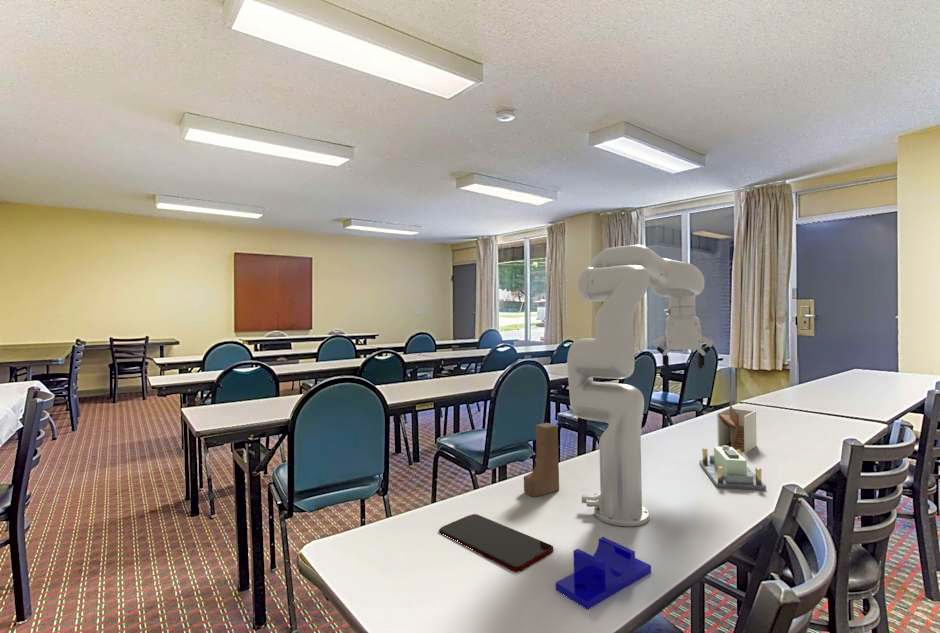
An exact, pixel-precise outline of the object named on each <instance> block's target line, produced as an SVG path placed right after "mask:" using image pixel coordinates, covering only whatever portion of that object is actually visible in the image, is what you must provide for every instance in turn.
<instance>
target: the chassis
mask: <svg viewBox="0 0 940 633" xmlns="http://www.w3.org/2000/svg"><path fill="white" fill-rule="evenodd" d="M701 451H702V459H701V460H698V461H699V465H700V467H701V468H702V470H703V471H704V472H705V473H706V475H707V477H708V478H709V479H710V480H711V482H712V483H713V484H714V485H715V487H716V488H717V489H731V490H732V489H733V490H734V489H737V490H755V491H767V485H766V484H765V483H764V482H763V480H762V468H760V467H755V471H754V472H755V473H754V472H753V471H752V470H751V469H750V468H749V467H748V466H747V475H737V474H726V478H725V477H724V475H723V467H721V466H718V467H716V466H715V464H714V454H713V455H712V454H709V457H708V448H704V447H703V448H702V450H701ZM736 451H737V452H738V453H739V454H740V455H741V456H742V452H741V449H736ZM708 458H709V460H708Z"/></svg>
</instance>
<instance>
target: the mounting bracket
mask: <svg viewBox="0 0 940 633" xmlns="http://www.w3.org/2000/svg"><path fill="white" fill-rule="evenodd" d="M572 552H573V553H572V554H573V573H571V574H570V575H567V576H566V577H563V578H562V579H559V580H557V581H556V582H555V591H556V590H557V592H558V591H559V592H558V593H560V594H561V593H562V595H563V594H564V595H565V597H566V596H567V597H566V598H568V599H569V598H570V599H569V600H571V601H572V600H573V601H572V602H574V603H576V604H577V603H578V604H577V605H579V606H580V605H581V607H582V606H583V607H585V608H586V609H585V608H584V609H585V610H587V609H588V610H590V609H592V608H593V607H595V606H597V605H598V604H600V603H602V602H603V601H606V600H607V599H609V598H611V597H612V596H614V595H615V594H617V593H619V592H621V591H622V590H624V589H626V588H627V587H630V586H631V585H632V584H634V583H636V582H637V581H639V580H641V579H643V578H644V577H647V575H649V574H651V573H652V565H651V564H649V563H647V562H645V561H643V560H641V559H638V558H636V551H635V550H633V549H631V548H629V547H626V546H624V545H622V544H620V543H617V542H615V541H613V540H610V539H609V538H607V537H605V536H602V537H600V538H598V545H597V548H596V550H595V552H594V554H593V555H591V553H590V554H589V553H588V552H586V551H584V550H581V549H580V548H575V549H574V550H573V551H572ZM620 590H621V591H620ZM564 595H563V596H564ZM611 595H612V596H611ZM608 597H609V598H608ZM583 607H582V608H583ZM591 607H592V608H591ZM589 608H590V609H589Z"/></svg>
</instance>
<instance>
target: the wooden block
mask: <svg viewBox="0 0 940 633" xmlns="http://www.w3.org/2000/svg"><path fill="white" fill-rule="evenodd" d="M558 427H559V426H558V425H556V424H553V423H549V422H543V423H539V424H535V449H536V450H535V451H536V454H535V456H536V462H535V467H534V468H533V470H532V472H531V473H528V474H526V475H524V476H523V493H525V494H527V495H529V496H531V497H532V498H536V497H539V496H543V495H547V494H551V493H554V492H559V491H560V467H559V432H558V431H559V429H558Z"/></svg>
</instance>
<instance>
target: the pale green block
mask: <svg viewBox="0 0 940 633" xmlns="http://www.w3.org/2000/svg"><path fill="white" fill-rule="evenodd" d="M735 449H736V448H733V447H731V446H729V445H727V444H725V445H723V446H722V447H719V446H718V445H717V446H715V445H714V446H713V455H714V464H715V466H716V467H718V466H721V467H723V475H724V477H725V478H726V474H737V475H747V467H748V466H747V460H746V458H744V456H742V454H741V455H740V454H739V453H738V452H737V451H736V450H737V449H736V450H735Z"/></svg>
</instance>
